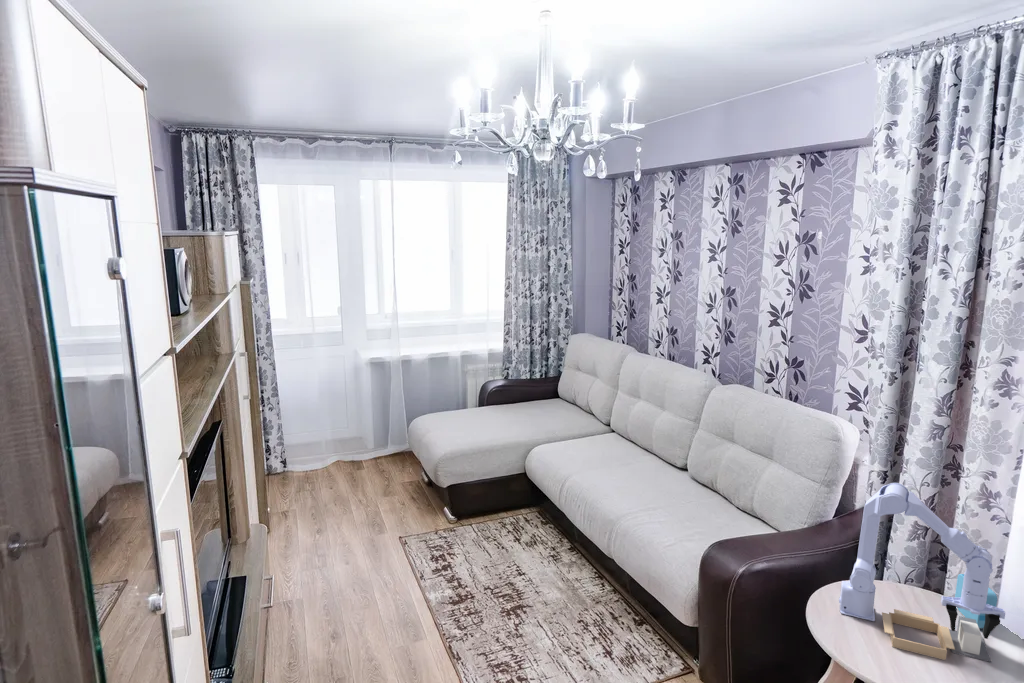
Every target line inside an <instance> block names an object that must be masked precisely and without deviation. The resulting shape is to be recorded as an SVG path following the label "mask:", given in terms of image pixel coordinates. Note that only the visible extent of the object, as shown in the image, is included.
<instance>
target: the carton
mask: <svg viewBox="0 0 1024 683" xmlns="http://www.w3.org/2000/svg"><path fill="white" fill-rule="evenodd" d="M881 614H882V615H881V616H882V622H883V628H884V629H883V631H884V634H889V636H890V641H891V647H892V648H896V649H900V650H904V651H908V652H912V653H915V654H920V655H924V656H927V657H932V658H936V659H938V660H939V659H940V660H944V661H947V655H948V650H947V649H949V650H951V649H954V650H955V648H954V644H953V641H952V638H951V635H950V631H949V627H947V626H943V625H940V623H937V622H935V621H934V619H933V617H931V616H926V615H922V614H919V613H912V612H908V611H904V610H900V609H896V608H894V609H893V612H888V613H886V612H881ZM894 624H895V625H901V626H905V627H908V628H909V627H910V628H913V629H918V630H922V631H925V632H930V633H934V634H936V635H937V639H938V642H939V646H940V647H937V646H934V645H933V646H932V645H928V644H924V643H920V642H916V641H912V640H908V639H903V638H900V637H899V638H898V637H896V636H895V631H894V630H895V629H894Z"/></svg>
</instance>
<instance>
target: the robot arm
mask: <svg viewBox="0 0 1024 683" xmlns="http://www.w3.org/2000/svg"><path fill="white" fill-rule="evenodd" d="M902 513H904V516H906V517H909V516H910V517H917V518H918V519H919V520H921V521H922V522H923V523H924V524H926V525H927V527H930V529H932V530H933V531H934V532H935V533H937V534H938V535H939V537H940V541H941V543H942V544H943V545H944V546H945V547H946V548H947V549H949V550H950V551H951V552H952V553H953V554H954V555H955V556H957V558H959V559H960V560H961V561H964V562H965V566H966V568H965V571H964V573H963V574H964V580H963V587H962V594H961V598H959V597H955V596H944V595H941V599H940V603H941V606H944V607H945V608H946V611H947V613H948V616H949V622H950V630H952V631H956V624H957V623H956V622H957V618H958V616H959V613H958V610H957V608H962V609H965V610H968V611H970V612H971V613H973V614H977V615H980V613H983V614H985V624H984V628H982V629H983V630H982V635H983V636H982V637H983V638H984V639H986V640H987V639H988V638H989V636H990V635H991V633H992V631H993V630H994V629H995V628H996V627H997V626H999V625H1000V624H1001V619H1003V620H1005V617H1006V611H1005V609H1004V608H1000V607H997V606H996V607H994V606H991V605H989V604H986V601H987V594H988V588H990V587H989V586H990V580H991V579H990V577H991V574H992V573H993V570H994V569H993V560H992V556H991V554H990V552H989V551H988V550H987V549H986V548H984V547H982V546H980V545H977V544H976V543H975V542H973V541H972V540H971V539H969V537H968V534H967V533H966V532H965V531H964V530H962V531H960V530H959V529H958V528H955V527H950V526H948V525H947V524H946V523H945V521H943V520H942V519H941V518H940V517H939V516H938V515H936V514H935V513H934V512H933V510H932V509H931V508H929V507H928V506H927V505H926V504H925V503H924V502H923V501H922V500H921V499H920V498H919V497H918V496H917V495H916V494H915V493H914V492H912V491H911V490H908V488H907V487H906V486H905V485H904V484H902V483H899V482H890V483H887V484H884V485H883V486H881V487H880V488H879V490H878V491H877V492H875V493H874V494H873V495H872V496H871V497H870V498H869V499H868V500H866V501H865V504H864V507H863V513H862V522H861V528H860V533H859V534H860V535H859V542H858V549H857V557H856V561H855V562H854V564H853V569H852V572H851V575H850V576H849V580H847V581H846V580H841V585H840V596H839V598H838V603H839V611H840V614H842V615H845V616H849V617H855V618H859V619H863V620H865V621H872V622H875V621H876V616H875V610H874V609H875V608H874V607H875V599H876V598H875V597H876V588H877V587H876V585H875V583H874V582H875V578H876V575H877V569H876V566H875V560H876V559H875V557H876V551H877V550H876V549H877V544H878V543H877V542H878V537H879V536H878V535H879V531H880V530H879V529H880V523H881V517H882V516H885V515H899V514H902ZM956 607H957V608H956Z"/></svg>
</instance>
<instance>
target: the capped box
mask: <svg viewBox="0 0 1024 683" xmlns="http://www.w3.org/2000/svg"><path fill="white" fill-rule="evenodd" d="M956 628H957V629H956V631H957V637H958V640H959V643H960V646H961V650H962V651H964V652H968V653H973V654H977V655H979V653H980V647H981V640H982V638H983V636H982V635H983V634H982V632H981V630H980V628H979V627H978V625H977V622H976V620H975V619H970V618H966V617H964V616H960V615H958V621H957V626H956Z"/></svg>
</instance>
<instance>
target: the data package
mask: <svg viewBox="0 0 1024 683" xmlns="http://www.w3.org/2000/svg"><path fill="white" fill-rule="evenodd" d="M963 580H964V573H959V574H957V579H956V586H955V593H954V597H959V598H961V594H962V587H963ZM986 604H989V605H991V606H994V607H997V605H998V595H997V594H996V593H995V591H993V589H992V588H990V587H989V588H988V594H987V601H986ZM958 610H959V611H960V612H961V613H962V614H963V615H964V616H965V617H966V618H970V619H975V620H976V622H977V625H978V627H979V629H984V624H985V614H983V613H980V615H977V614H973V613H971V612H970V611H968V610H965V609H962V608H958ZM958 610H957V611H958ZM959 611H958V612H959ZM960 612H959V613H960ZM961 613H960V614H961ZM962 614H961V615H962ZM963 615H962V616H963ZM964 616H963V617H964Z"/></svg>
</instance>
